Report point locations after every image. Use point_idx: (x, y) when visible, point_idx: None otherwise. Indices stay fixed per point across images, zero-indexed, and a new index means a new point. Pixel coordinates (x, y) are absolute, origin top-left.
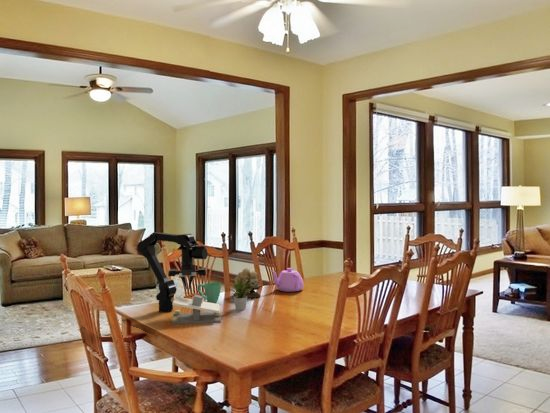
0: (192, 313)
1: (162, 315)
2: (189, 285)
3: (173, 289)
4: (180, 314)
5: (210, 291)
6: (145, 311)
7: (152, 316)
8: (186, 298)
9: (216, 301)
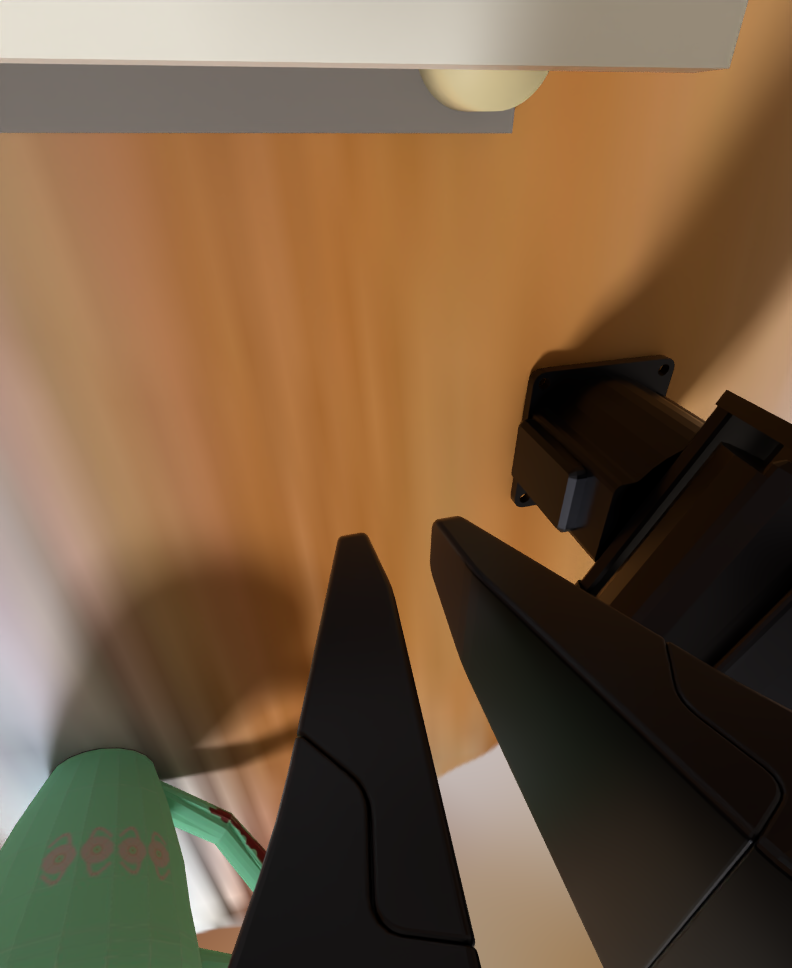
0: (173, 87)
1: (648, 188)
2: (370, 622)
3: (695, 609)
4: None
5: (72, 884)
6: (766, 409)
7: (771, 145)
8: (355, 55)
9: (46, 782)
